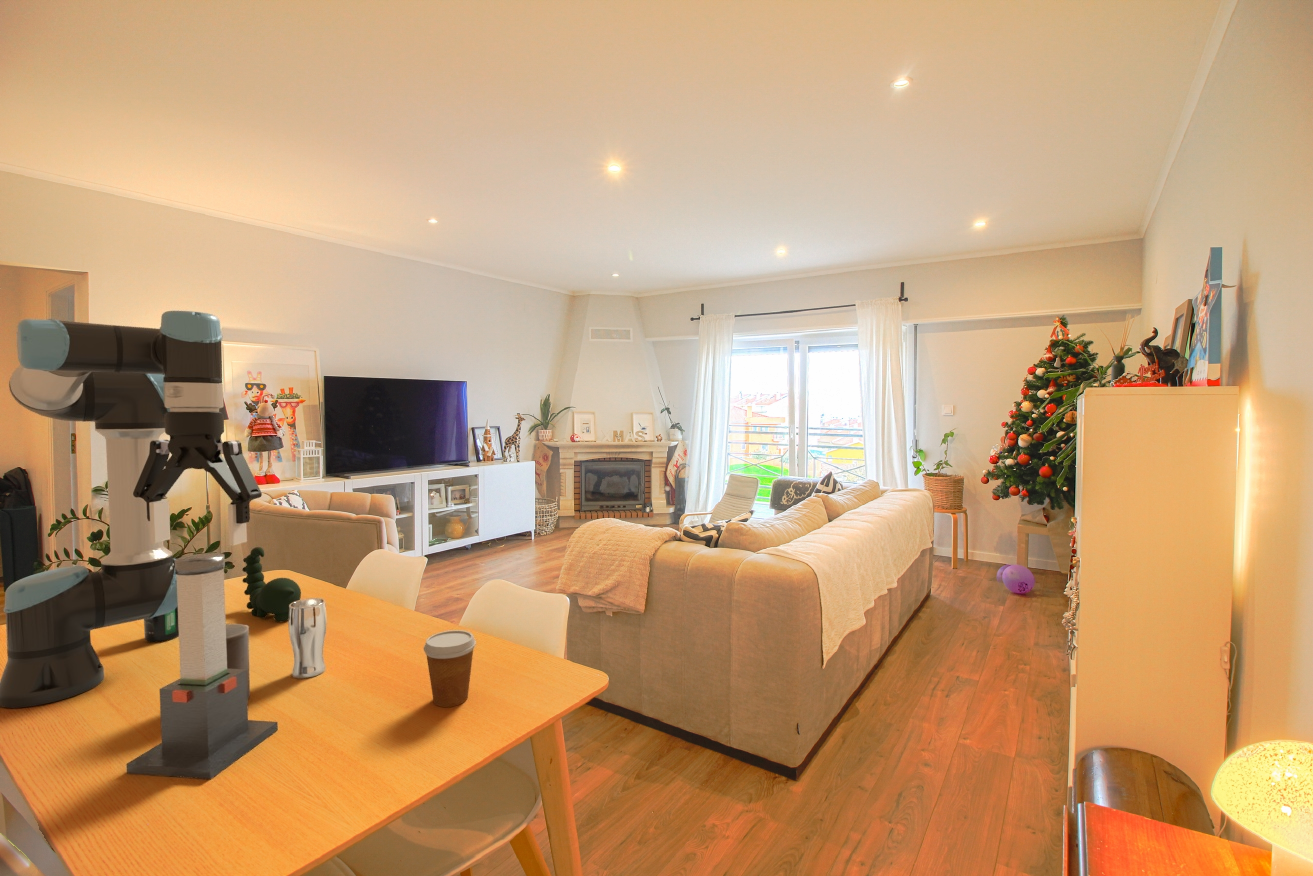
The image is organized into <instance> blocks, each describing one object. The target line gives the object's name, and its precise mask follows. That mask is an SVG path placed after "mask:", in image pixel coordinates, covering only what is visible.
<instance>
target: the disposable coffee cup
mask: <svg viewBox="0 0 1313 876" xmlns="http://www.w3.org/2000/svg"><path fill="white" fill-rule="evenodd" d="M476 644H477V641H476V638H475V637H474V634H473V633H472V632H471V631H467V630H463V629H462V630H460V629H455V630H454V629H452V630H451V629H450V630H445V631H441V632H437V633H435V634H433V635H430V636H429V637H428V638H426V640H425V644H424V645H423V652H424V654H425V655H426V661H427V662H426V663H427V667H428V675H429V681H430V687H431V694H432V701H433V704H434V705H435V706H437V707H440V708H450V707H455V706H459V705H461V704H463V703H465V702H466V701H467V700H468V698H469V691H470V681H471V672H472V665H473V663H472V662H473V657H474V655H473V654H474V649H475V646H476Z"/></svg>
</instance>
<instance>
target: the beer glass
mask: <svg viewBox="0 0 1313 876" xmlns="http://www.w3.org/2000/svg"><path fill="white" fill-rule="evenodd" d="M327 624H328V623H327V609H326V600H325V599H324V598H319V597H311V598H303V599H302V598H301V599H300V600H298V601H295V602H293V603H291V604H290V605H289V620H288V624H287V625H288V634H289V638H290V642H291V643H290V644H291V647H292V652H293V658H294V659H293V668H292V674H291V675H292V677H293V678H295V679H301V680H302V679H311V678H314V677H317V676H319V675H322V674H323V673H324V672H325V671H326V664H325V660H324V645H325V639H326V633H327Z"/></svg>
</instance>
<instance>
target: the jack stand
mask: <svg viewBox="0 0 1313 876" xmlns="http://www.w3.org/2000/svg"><path fill="white" fill-rule="evenodd" d="M159 707H160V708H159V709H160V710H159V711H160V713H159V715H160V734H161V742H160V743H159V744H157V745H156V746H153V747H152V748H151V749H149V750H147V751H145V752H144V753H142V754H140V755H138V756H137V757H135V758H134V759H132V760H130V761H129V762H128V763H126V774H129V775H130V774H132V775H142V774H145V775H144V776H156V775H163V776H162V777H170V776H172V777H173V778H186V779H197V780H212V779H213V778H215V777H217V775H218V774H221V773H222V772H223V771H224V770H226V769H227V768H228V767H230V766H231V765H233V764H234V763H235V762H236V761H238V760H239V759H241V757H244V756H245V755H246V754H247V753H249V752H250V751H252V750H253V749H254V748H255V747H257V746H258V745H260V744H261V743H263V742H264V741H265V740H266V739H269V737H271V736H272V735H273V734H275V733H276V732H277V731H278V728H279V727H278V721H270V720H269V721H267V720H253V719H251V720H250V719H249V712H248V711H249V710H248V700H247V676H246V669H228V674H227V675H226V676H224V677H222V678H221V679H219V680H217V681H215V682H213V683H211V684H210V685H208V686H206V687H202V686H184V685H180V678H179V679H176V680H174V681H172V682H171V683H169V684H166V685H164V686H162V687H160V688H159Z"/></svg>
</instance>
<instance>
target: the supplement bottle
mask: <svg viewBox="0 0 1313 876" xmlns="http://www.w3.org/2000/svg"><path fill="white" fill-rule="evenodd" d="M143 628H144V629H143V630H144V631H143V632H144V640H145V642H146V643H151V642H155V643H163V642H168V641H171V640H173V639H177V638H179V626H178V606H177V607H176V608H175V609H174V610H173V611H172V612H170V613H167V614H163V615H159V616H155V617H153V618H151V619H143ZM167 640H168V641H167ZM162 641H163V642H162Z"/></svg>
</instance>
